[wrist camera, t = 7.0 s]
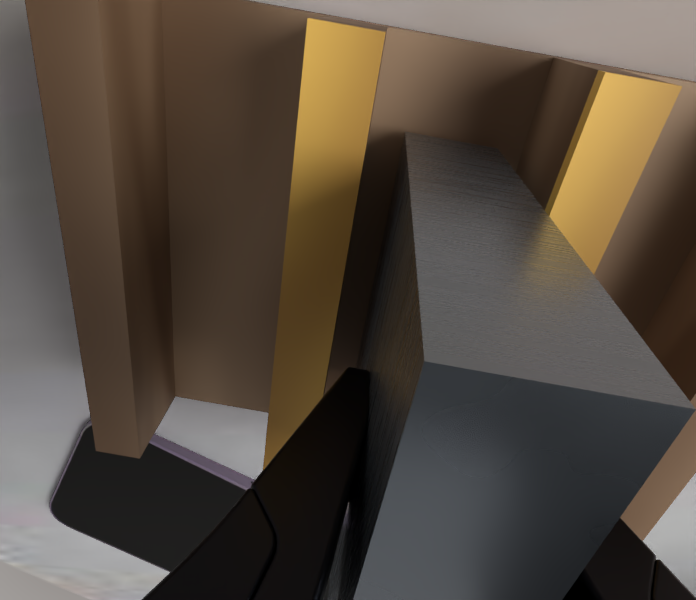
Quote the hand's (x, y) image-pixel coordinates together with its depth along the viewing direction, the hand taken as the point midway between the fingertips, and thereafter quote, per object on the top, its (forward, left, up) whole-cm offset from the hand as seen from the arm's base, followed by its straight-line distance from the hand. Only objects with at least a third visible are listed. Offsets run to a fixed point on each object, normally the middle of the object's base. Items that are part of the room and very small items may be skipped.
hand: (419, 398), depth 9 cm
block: (0, 0, -4) cm, 4 cm away
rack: (0, 0, -6) cm, 6 cm away
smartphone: (+4, +14, -6) cm, 16 cm away
